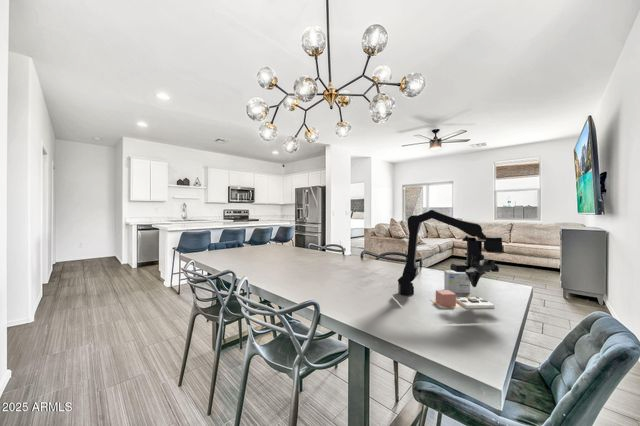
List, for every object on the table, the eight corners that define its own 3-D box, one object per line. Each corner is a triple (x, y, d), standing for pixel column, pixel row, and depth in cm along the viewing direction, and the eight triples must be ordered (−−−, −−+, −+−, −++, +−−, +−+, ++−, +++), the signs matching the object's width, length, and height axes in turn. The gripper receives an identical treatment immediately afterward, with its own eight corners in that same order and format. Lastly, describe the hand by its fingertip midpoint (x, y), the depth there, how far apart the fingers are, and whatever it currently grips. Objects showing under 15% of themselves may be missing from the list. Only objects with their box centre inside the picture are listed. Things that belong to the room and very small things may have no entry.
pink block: (442, 305, 115) (442, 294, 115) (435, 301, 121) (435, 290, 121) (455, 305, 116) (455, 294, 115) (448, 301, 122) (448, 290, 121)
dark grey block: (472, 306, 116) (472, 300, 116) (468, 303, 119) (468, 298, 119) (478, 306, 116) (479, 300, 116) (474, 303, 119) (474, 298, 119)
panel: (466, 310, 113) (466, 304, 113) (454, 301, 123) (454, 296, 123) (494, 309, 113) (494, 304, 113) (479, 301, 123) (479, 296, 123)
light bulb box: (464, 290, 140) (465, 270, 140) (470, 294, 133) (470, 273, 133) (443, 290, 141) (443, 269, 141) (448, 294, 134) (448, 272, 134)
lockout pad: (439, 309, 113) (439, 307, 113) (429, 301, 123) (429, 299, 123) (463, 309, 114) (463, 307, 114) (450, 301, 124) (450, 299, 124)
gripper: (463, 254, 109) (463, 293, 109) (508, 254, 110) (508, 292, 110) (449, 250, 120) (449, 285, 120) (490, 250, 121) (490, 284, 121)
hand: (474, 287), depth 118 cm, fingers closed
